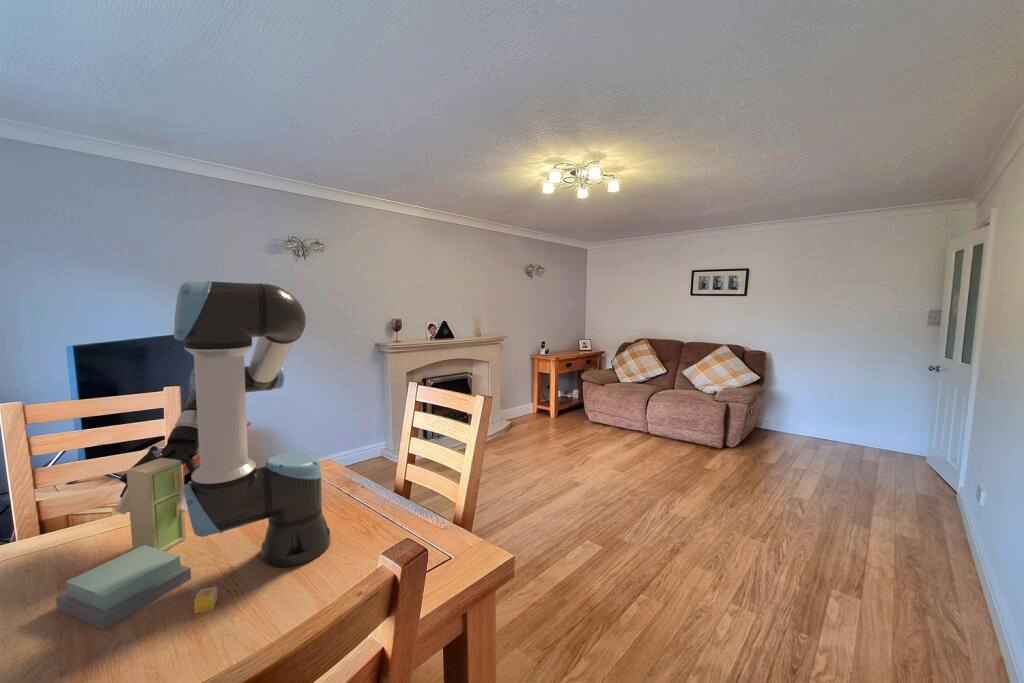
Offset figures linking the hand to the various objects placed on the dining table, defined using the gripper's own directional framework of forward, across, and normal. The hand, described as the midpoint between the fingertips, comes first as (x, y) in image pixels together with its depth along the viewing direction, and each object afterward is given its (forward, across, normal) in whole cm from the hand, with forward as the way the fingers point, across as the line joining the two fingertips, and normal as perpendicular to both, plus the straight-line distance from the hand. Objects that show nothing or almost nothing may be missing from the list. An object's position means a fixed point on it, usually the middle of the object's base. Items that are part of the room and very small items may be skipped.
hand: (151, 511), depth 98 cm
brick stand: (+18, -5, +3) cm, 19 cm away
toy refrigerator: (+6, 0, -9) cm, 11 cm away
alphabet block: (+22, -24, +7) cm, 33 cm away
